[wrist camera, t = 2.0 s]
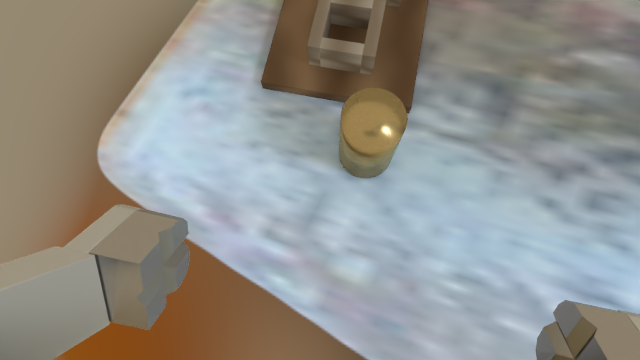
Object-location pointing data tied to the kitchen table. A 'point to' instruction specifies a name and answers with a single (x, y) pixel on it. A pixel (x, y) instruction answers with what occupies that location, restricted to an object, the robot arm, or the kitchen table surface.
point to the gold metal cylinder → (370, 131)
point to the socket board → (346, 48)
